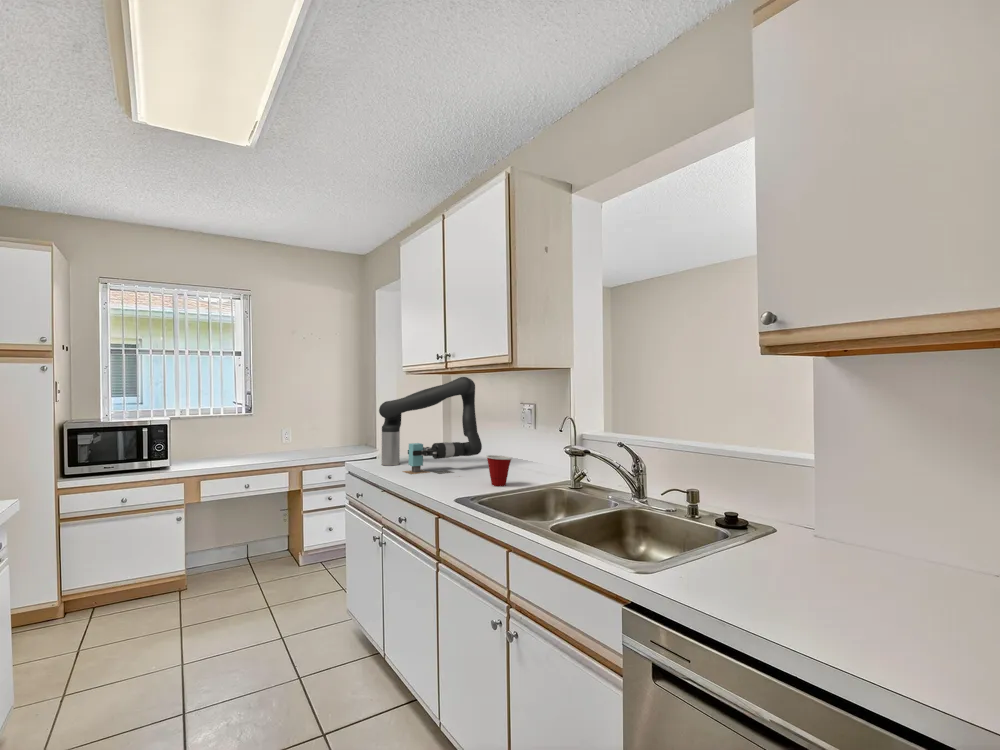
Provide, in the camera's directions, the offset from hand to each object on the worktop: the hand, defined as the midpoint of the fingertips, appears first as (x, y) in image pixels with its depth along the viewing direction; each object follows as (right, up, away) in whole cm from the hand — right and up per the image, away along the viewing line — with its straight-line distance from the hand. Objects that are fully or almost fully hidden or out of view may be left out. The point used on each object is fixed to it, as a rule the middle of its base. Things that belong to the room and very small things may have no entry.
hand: (410, 452), depth 241 cm
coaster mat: (+15, -10, +1) cm, 18 cm away
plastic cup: (+41, -10, -27) cm, 50 cm away
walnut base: (+2, -10, +1) cm, 10 cm away
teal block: (+2, -6, +1) cm, 7 cm away
